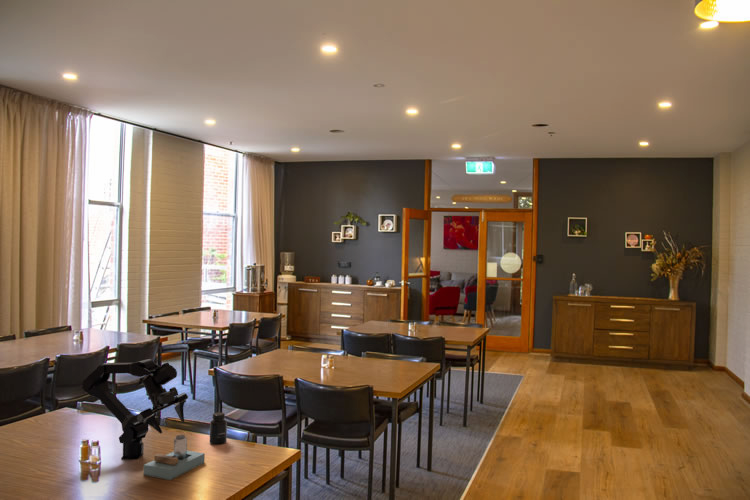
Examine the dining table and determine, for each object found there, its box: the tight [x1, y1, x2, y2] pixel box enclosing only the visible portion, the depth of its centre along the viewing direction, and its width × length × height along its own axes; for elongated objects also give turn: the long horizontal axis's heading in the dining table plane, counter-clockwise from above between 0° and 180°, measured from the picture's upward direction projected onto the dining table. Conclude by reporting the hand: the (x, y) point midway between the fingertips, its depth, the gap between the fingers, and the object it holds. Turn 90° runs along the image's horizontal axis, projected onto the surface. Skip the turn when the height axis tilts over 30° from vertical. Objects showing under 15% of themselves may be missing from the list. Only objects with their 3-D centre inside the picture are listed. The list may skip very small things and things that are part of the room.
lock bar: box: [153, 453, 178, 465], centre depth 202 cm, size 9×2×2 cm, turn 67°
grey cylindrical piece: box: [173, 434, 188, 460], centre depth 210 cm, size 5×5×10 cm
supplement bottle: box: [209, 412, 228, 446], centre depth 235 cm, size 7×7×12 cm
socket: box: [143, 449, 205, 481], centre depth 207 cm, size 12×18×4 cm, turn 157°
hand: (172, 427), depth 213 cm, fingers open, 9 cm apart
